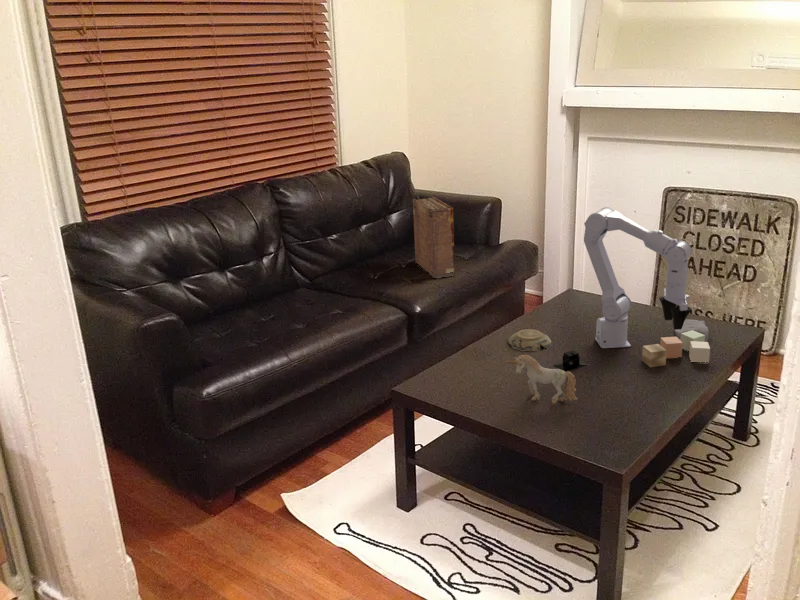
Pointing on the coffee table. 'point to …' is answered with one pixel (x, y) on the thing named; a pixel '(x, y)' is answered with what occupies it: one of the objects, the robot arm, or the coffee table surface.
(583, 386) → the coffee table surface
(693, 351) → the cream cube
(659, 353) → the maple cube
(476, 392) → the coffee table surface
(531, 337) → the decorative bowl
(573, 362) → the black boxy device
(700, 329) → the stone block
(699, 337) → the sage cube
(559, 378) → the unicorn figurine
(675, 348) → the terracotta cube
